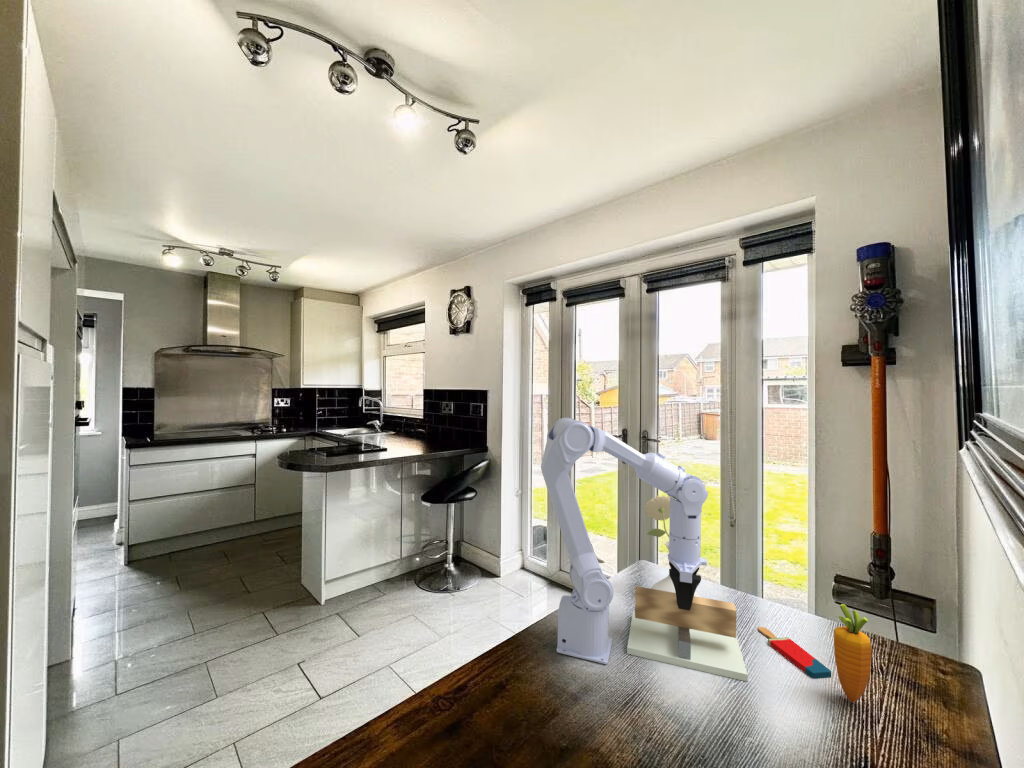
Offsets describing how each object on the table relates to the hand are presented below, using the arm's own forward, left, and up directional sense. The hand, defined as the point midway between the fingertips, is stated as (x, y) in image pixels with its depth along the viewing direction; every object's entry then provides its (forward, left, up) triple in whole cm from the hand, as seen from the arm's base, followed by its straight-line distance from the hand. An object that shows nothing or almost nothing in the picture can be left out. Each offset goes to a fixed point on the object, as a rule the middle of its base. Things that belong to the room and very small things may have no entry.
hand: (683, 604), depth 82 cm
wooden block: (0, 0, -4) cm, 4 cm away
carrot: (+25, -6, -8) cm, 27 cm away
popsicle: (+19, +6, -9) cm, 22 cm away
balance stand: (0, 0, -8) cm, 8 cm away
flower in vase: (-2, +17, -8) cm, 19 cm away
